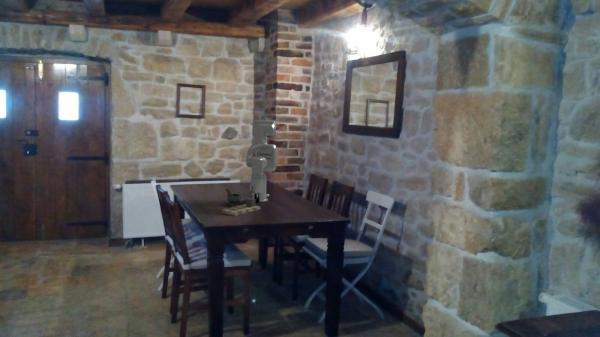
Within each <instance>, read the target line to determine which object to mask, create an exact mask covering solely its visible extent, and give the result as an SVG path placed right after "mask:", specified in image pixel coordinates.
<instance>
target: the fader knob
mask: <svg viewBox="0 0 600 337" xmlns="http://www.w3.org/2000/svg"><path fill="white" fill-rule="evenodd" d="M252 198H253V197H252ZM252 198H251V197H250V198H249V197H248V198H246V199H245V204H246V206H256V204H257V203H256V199H252Z"/></svg>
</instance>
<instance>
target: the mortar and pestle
mask: <svg viewBox="0 0 600 337" xmlns="http://www.w3.org/2000/svg"><path fill="white" fill-rule="evenodd" d="M225 191H226V193H227V200H228V202H229V206H233V207H236V206H239V203H240V201H241V199H242V195H241V194H240V193H233V192H231V190H230V188H229V187H227V188H226V189H225Z"/></svg>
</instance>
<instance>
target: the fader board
mask: <svg viewBox="0 0 600 337" xmlns="http://www.w3.org/2000/svg"><path fill="white" fill-rule="evenodd" d="M259 210H261V205H260V206H259V205H255V206H246V203H245V204H242V205H241V204H240V205H236V206H233V207H229V208H228V207H227V208H223V209H220V214H225V215H230V216H239V215H243V214H246V213H250V212H252V213H253V212H256V211H259Z"/></svg>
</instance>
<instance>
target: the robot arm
mask: <svg viewBox="0 0 600 337" xmlns="http://www.w3.org/2000/svg"><path fill="white" fill-rule="evenodd" d="M252 130H253V134H254V135H253V144H252V145H250V147H249V148H248V149H247V152H246V159H245V165H246V167H247V168H250V169H251V179H250V182H249V183H250V185H249V192H250V193H251V195H250V196H252V199H256V203H255V204H260V203H261V202H262V203H265V202H268V201H269V198H268V197H270V194H269V193H267V175H266V173H265V172H275V171H276V169H277V162H278V161H277V160H278V156H277V155H278V149H277V148H278V147H277V146H276V144H274V143H273V144H271V143H270V144H269V143H268V137H273V136H275V134H276V131H277V122H276V120H274V119H255V120H253V121H252ZM253 153H255V156H252V154H253Z"/></svg>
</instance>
